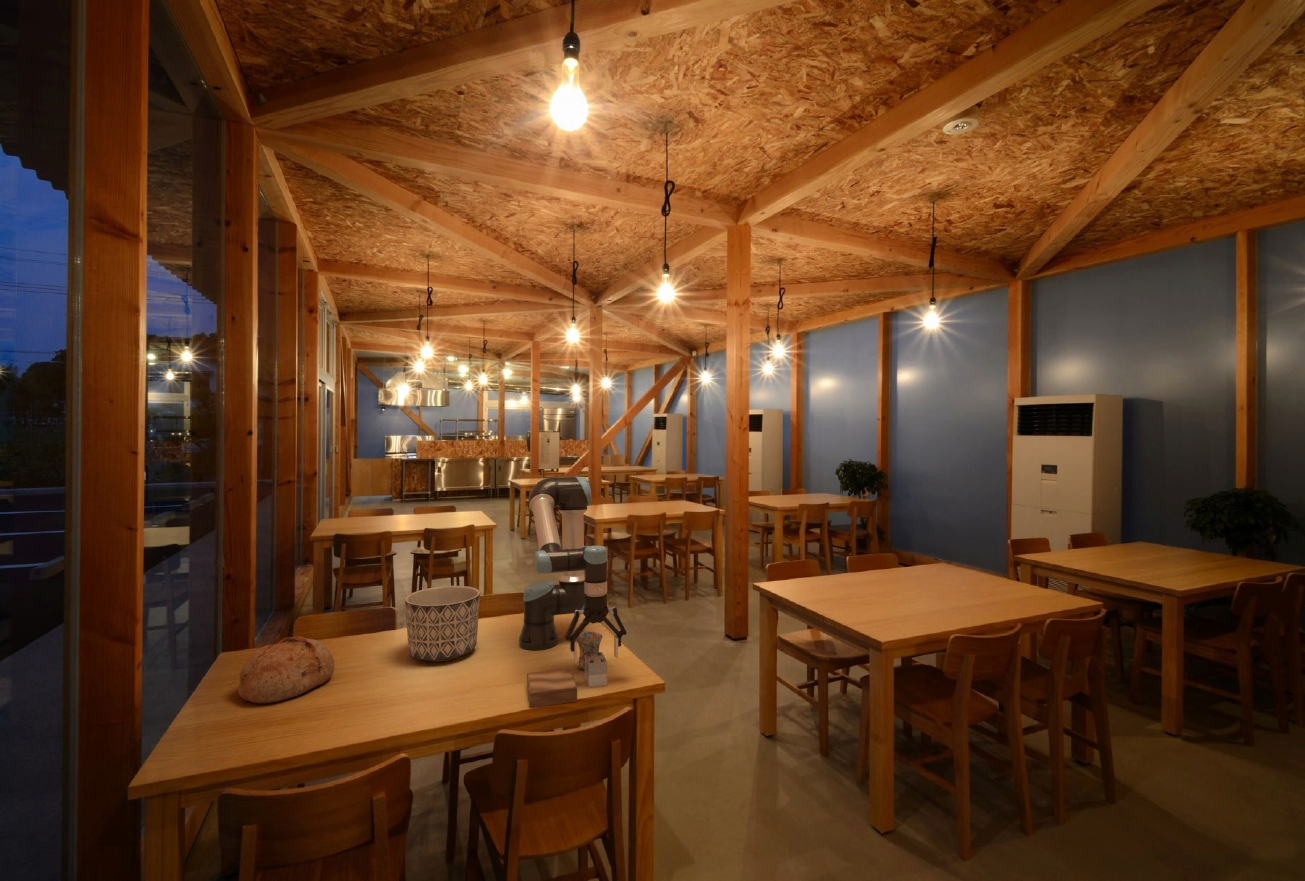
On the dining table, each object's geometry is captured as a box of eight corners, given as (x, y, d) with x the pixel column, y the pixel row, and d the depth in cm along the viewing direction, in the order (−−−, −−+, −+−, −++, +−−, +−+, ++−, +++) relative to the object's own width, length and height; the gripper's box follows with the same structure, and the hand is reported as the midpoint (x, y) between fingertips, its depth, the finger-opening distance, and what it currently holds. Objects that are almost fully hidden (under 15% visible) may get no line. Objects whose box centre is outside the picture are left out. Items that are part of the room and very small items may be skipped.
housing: (584, 677, 185) (584, 652, 185) (602, 675, 187) (602, 651, 187) (588, 688, 178) (588, 662, 178) (607, 685, 179) (607, 660, 179)
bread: (271, 712, 162) (271, 661, 162) (218, 699, 170) (218, 650, 170) (349, 676, 186) (349, 631, 186) (300, 666, 195) (300, 623, 194)
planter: (479, 638, 222) (479, 583, 222) (480, 663, 197) (480, 601, 197) (408, 645, 214) (408, 588, 214) (401, 672, 189) (401, 608, 189)
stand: (526, 686, 179) (526, 672, 179) (570, 680, 183) (570, 667, 183) (530, 707, 165) (530, 693, 165) (577, 701, 169) (577, 687, 169)
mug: (605, 670, 192) (605, 639, 192) (578, 673, 189) (578, 642, 189) (597, 657, 203) (597, 628, 203) (572, 660, 200) (572, 630, 200)
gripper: (559, 600, 175) (559, 667, 175) (635, 593, 182) (635, 658, 182) (556, 594, 182) (556, 658, 182) (629, 588, 189) (630, 650, 189)
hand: (596, 658), depth 182 cm, fingers open, 13 cm apart
